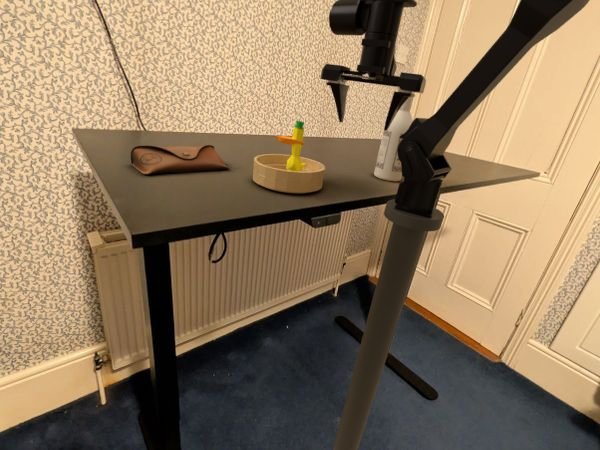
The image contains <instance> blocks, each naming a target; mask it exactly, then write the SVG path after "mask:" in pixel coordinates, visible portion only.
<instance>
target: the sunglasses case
mask: <svg viewBox="0 0 600 450" xmlns="http://www.w3.org/2000/svg"><path fill="white" fill-rule="evenodd" d="M130 163H131V166H132V167H133V168H134V169H135V170H136V171H137V172H139V173H140V174H142V175H154V174H172V173H194V172H209V171H210V172H211V171H218V170H225V169H230V167H229V166H227V165H226V163H225V162H224V160H223V159H222V158H221V156H220V155H219V154H218V152H217V151H216V149H215V146H214V145H211V144H205V145H168V146H167V145H166V146H165V145H164V146H163V145H162V146H158V145H149V144H147V145H137V146H134V147H133V148H131V151H130Z"/></svg>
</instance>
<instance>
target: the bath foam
mask: <svg viewBox="0 0 600 450" xmlns="http://www.w3.org/2000/svg"><path fill="white" fill-rule="evenodd" d="M414 98H415V97H409V98H408V99H407V100H406V101H405V103H404V104H403V105H402V106H401V108H400V109H399V111H398V112H397V114H396V116H395V118H394V119H393V121H392V123H391V124H390V126H389V128H388V130H386V131H385V130H384V129H383V132H382V136H381V140H380V141H381V142H380V145H379V149H378V154H377V158H376V163H375V167H374V172H373V175H374V177H375V178H377V179H380V180H384V181H388V182H401V181H402V178H403V177H402V169H401V162H400V161H399V158H398V150H397V147H398V145H399V143H400V141H401V140H402V139H403V138H400V136H401V135H403V134H404V133H405V132H406V131H407V130H408V129H409V127H410V125H411V123H412V122H413V121H414V119H413V117H412V114H411V109H412V106H413V101H414Z"/></svg>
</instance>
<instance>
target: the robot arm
mask: <svg viewBox="0 0 600 450" xmlns="http://www.w3.org/2000/svg"><path fill="white" fill-rule="evenodd" d="M589 2H590V0H520V1H519V3H518V5H517V7H516V10H515V11H514V14H512V18H511V20H510V21H509V24H508V25H507V27H506V29H505V30H504V31H503V32H502V33H501V35H500V36H499V37H498V39H497V40H496V41H495V42H494V43H493V44H492V45H491V46H490V47H489V49H488V50H487V51H486V52H485V54H484V55H483V56H482V57H481V58H480V60H479V61H478V62H477V63H476V64H475V65H474V66H473V68H472V69H471V70H470V71H469V73H468V74H467V75H466V76H465V77H464V79H463V80H462V81H461V82H460V83H459V85H457V87H456V88H455V89H454V91H452V93H451V94H450V95H449V96H448V98H447V99H446V100H445V101H444V103H442V104H441V106H440V107H439V108H438V109H437V111H435V113H434V114H432V116H430V117H429V118H428V117H427V118H425V117H415V118H414V119H413V122H412V123H411V125H410V127H409V129H408V130H407V131H406V132H405V133H404V134H403V135H401V136H400V138H403V139H402V140H401V141H400V143H399V145H398V147H397V150H398V158H399V161H400V162H401V169H402V178H403V179H401V180H400V181H399V184H398V187H397V191H396V195H395V198H394V199H395V203H396V205H395V209H397V210H401V211H405V212H408V213H412V214H416V215H419V216H423V217H427V218H432V215H433V212H434V209H435V208H436V207H435V206H436V203H437V200H438V197H439V194H440V191H441V187H442V185H443V179H445V178H446V177H447V176H448V175H449V174H450V173H451V171H452V167H451V164H450V163H449V162H448V160H447V158H446V157H445V155H444V154H445V152H446V150H447V149H448V148H449V146H450V144H451V142H452V141H453V138H454V136H455V134H456V132H457V130H458V129H459V127H460V126H461V125H462V124H463V123H464V122H465V121H466V119H467V118H468V117H470V115H471V114H472V113H473V112H474V111H475V110H476V109H477V108H478V106H480V104H481V103H482V102H484V100H485V99H486V98H487V97H488V96H489V95H490V94H491V92H493V90H494V89H495V88H496V87H498V85H499V84H500V83H501V82H502V81H503V80H504V78H506V76H507V75H508V74H509V73H510V72H511V71H512V70H513V69H514V67H515V66H517V64H518V63H519V62H520V61H521V60H522V59H523V58H524V57H525V56H526V55H527V54H528V52H529V51H530V50H531V49H532V48H533V47H535V46H536V45H537V44H538V43H541V42H542V41H543V40H544V39H546V38H547V37H549V36H550V35H552V34H554V33H555V32H557V30H559V29H560V28H561V27H563V26H564V25H565V24H566V23H567V22H569V21H570V20H571V19H572V18H573V17H575V16H576V15H577V14H578V13H579V12H581V11H582V10H583V9H584V8H585V7H586V5H588V4H589ZM417 4H418V2H417V1H416V0H336V1H335V2H334V3H333V4H332V6H331V8H330V10H329V13H328V24H329V28H330V31H331V32H332V34H333V35H335V36H364V37H363V38H361V44H360V46H362V47H361V53H360V58H359V64H357V65H356V70H351V68H350V67H348V66H345V65H339V64H331V63H325V64H324V65H323V67H322V69H321V73H320V80H324V81H326V83H325V85H326V86H329V87H330V90H331V94H332V96H333V100H334V103H335V104H334V105H335V108H336V113H337V118H338V122H339V123H343V122H344V118H345V113H346V106H347V105H346V104H347V95H348V93H349V92H348V91H349V89H350V85H348V84H346V83H347V82H348V81H349V82H356V83H365V84H370V85H379V86H387V87H396V88H397V90H398V91H393V94H392V98H391V101H390V104H389V108H388V112H387V116H386V119H385V121H384V128H383V131H384V130H385V131H386V130H388V128H389V126H390V124H391V123H392V121H393V119H394V118H395V116H396V114H397V112H398V111H399V109H400V108H401V106H402V105H403V104H404V103H405V101H406V100H407V99H408V98H409V97H414V98H415V96H416V94H415V93H417V94H424V92H425V88H426V84H427V79H426V77H425V76H424V75H422V74H420V73H411V72H404V71H403V72H402V71H401V72H400V74H399V76H398V75H396V71H397V68H398V67H397V62H396V57H395V53H396V47H397V45H396V44H397V40H398V34H399V30H400V26H401V21H402V17H403V12H404V8H416V7H417Z"/></svg>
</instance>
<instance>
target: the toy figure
mask: <svg viewBox="0 0 600 450" xmlns="http://www.w3.org/2000/svg"><path fill="white" fill-rule="evenodd" d="M304 126H305V122H304V121H301V120H296V123H295V124H294V125H293V128H292V136H287V135H279V136H276V140H277V141H278V142H279V143H280V144H285V145H291V155H292V156H291V157H290V158H289V159H288V160H287V167H286V168H287V170H288V171H299V172H300V171H301V170H302V169H303V168H304V167H305V166H306V165H307V164H308V163H302V162H301V160H300V158H299V157H300V154H301V151H302V147H303V146H304V145H305V142H306V141H304V134H305V127H304Z"/></svg>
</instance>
